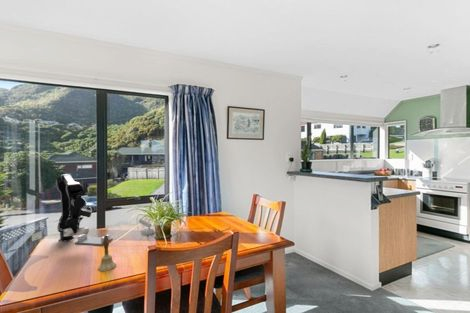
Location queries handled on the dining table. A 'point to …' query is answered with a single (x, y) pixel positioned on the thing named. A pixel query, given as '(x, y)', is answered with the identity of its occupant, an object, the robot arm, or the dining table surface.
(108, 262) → the hand bell
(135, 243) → the dining table surface
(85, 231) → the frame
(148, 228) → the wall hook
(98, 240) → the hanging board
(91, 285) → the dining table surface
